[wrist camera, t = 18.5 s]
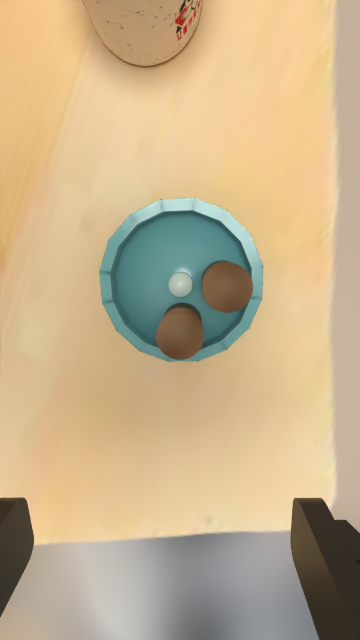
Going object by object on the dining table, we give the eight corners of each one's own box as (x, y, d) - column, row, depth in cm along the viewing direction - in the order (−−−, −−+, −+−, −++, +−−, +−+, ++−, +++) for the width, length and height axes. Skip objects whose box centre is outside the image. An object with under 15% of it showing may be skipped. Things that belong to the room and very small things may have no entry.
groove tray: (79, 285, 27) (68, 288, 25) (177, 167, 25) (176, 158, 22) (185, 379, 29) (184, 390, 27) (288, 278, 26) (297, 281, 24)
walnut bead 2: (201, 301, 26) (203, 313, 21) (200, 261, 26) (201, 264, 21) (242, 300, 26) (252, 311, 21) (242, 259, 25) (253, 261, 20)
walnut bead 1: (154, 322, 27) (146, 338, 22) (181, 294, 26) (178, 304, 21) (183, 348, 27) (181, 368, 23) (210, 320, 27) (213, 336, 22)
